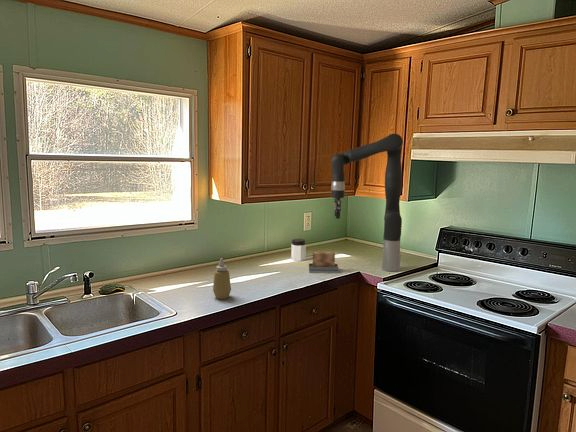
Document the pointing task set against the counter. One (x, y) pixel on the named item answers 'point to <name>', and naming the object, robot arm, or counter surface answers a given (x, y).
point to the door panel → (324, 259)
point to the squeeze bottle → (221, 281)
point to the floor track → (323, 269)
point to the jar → (298, 250)
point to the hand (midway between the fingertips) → (337, 217)
